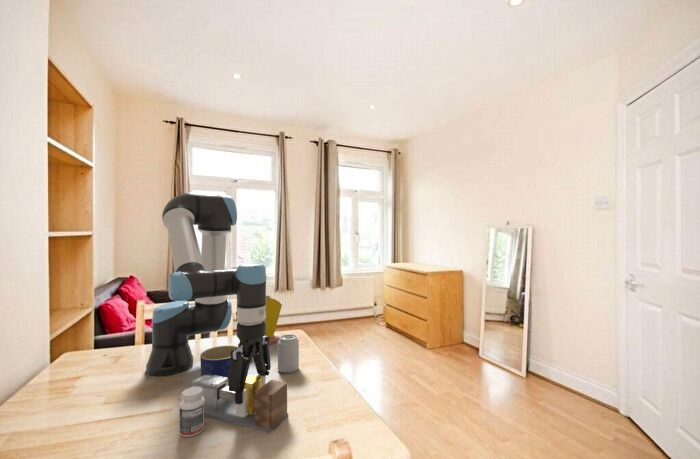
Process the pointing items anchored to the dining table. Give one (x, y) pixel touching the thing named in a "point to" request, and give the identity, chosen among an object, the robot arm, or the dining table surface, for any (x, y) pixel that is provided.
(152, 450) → the dining table surface
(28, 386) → the dining table surface
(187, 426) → the pill bottle
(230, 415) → the board
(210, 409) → the sleeve
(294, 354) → the can
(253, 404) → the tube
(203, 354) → the planter
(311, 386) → the dining table surface
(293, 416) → the dining table surface
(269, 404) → the socket
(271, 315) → the yellow fan-shaped sign
